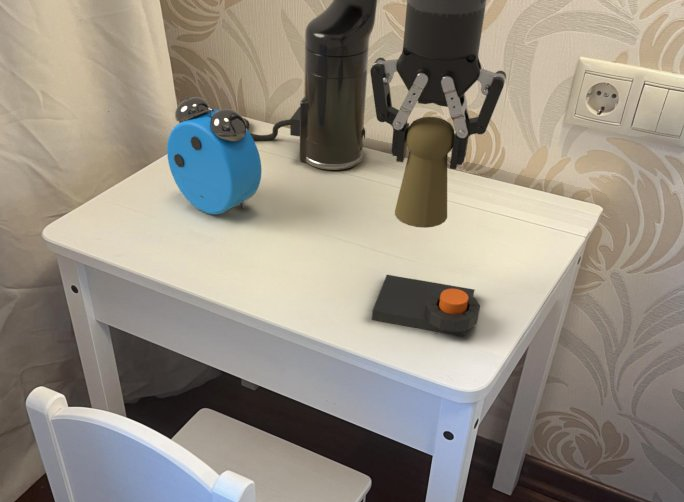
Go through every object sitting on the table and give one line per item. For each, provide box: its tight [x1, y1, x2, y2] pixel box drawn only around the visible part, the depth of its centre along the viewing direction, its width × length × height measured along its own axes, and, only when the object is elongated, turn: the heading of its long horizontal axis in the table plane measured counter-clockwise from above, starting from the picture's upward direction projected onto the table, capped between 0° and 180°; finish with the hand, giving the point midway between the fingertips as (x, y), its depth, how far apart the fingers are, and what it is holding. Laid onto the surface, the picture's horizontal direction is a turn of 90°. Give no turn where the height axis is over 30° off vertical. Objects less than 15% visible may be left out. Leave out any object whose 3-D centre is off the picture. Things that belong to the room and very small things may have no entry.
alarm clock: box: [166, 95, 262, 215], centre depth 114 cm, size 13×6×15 cm, turn 49°
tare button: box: [439, 289, 468, 315], centre depth 96 cm, size 3×3×2 cm
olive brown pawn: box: [394, 116, 456, 228], centre depth 91 cm, size 6×6×11 cm
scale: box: [371, 274, 481, 337], centre depth 99 cm, size 12×9×3 cm
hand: (427, 161), depth 91 cm, fingers closed on olive brown pawn, 5 cm apart
